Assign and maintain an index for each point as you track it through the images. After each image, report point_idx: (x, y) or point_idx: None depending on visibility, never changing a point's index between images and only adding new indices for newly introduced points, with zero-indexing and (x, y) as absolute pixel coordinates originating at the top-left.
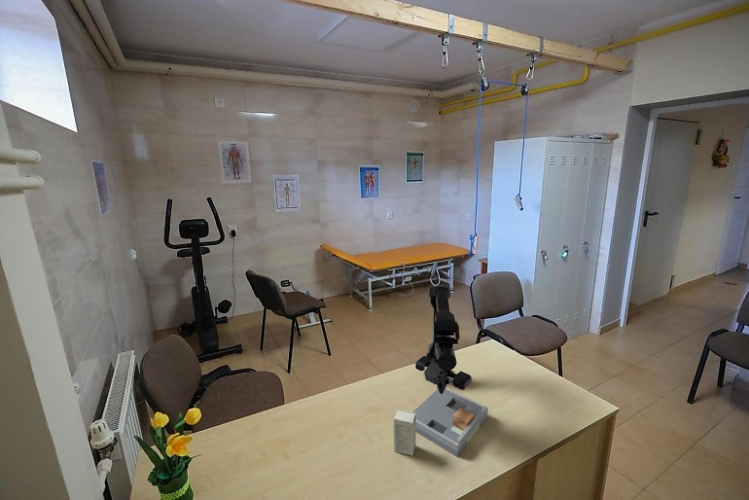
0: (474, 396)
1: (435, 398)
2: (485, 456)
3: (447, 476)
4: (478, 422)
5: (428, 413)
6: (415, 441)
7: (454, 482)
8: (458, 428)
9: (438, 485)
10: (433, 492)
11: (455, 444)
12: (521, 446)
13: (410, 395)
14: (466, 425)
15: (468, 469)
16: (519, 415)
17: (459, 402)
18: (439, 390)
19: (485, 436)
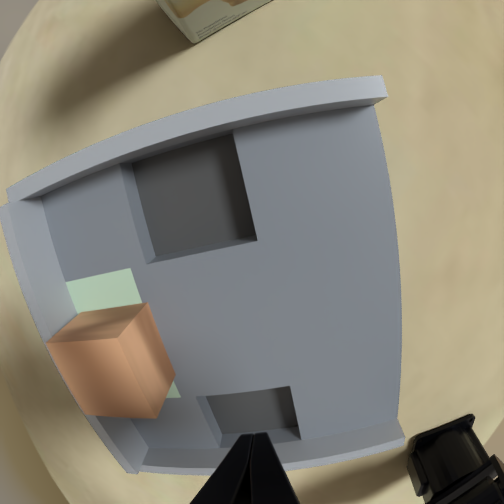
0: None
1: (367, 380)
2: (15, 280)
3: (23, 89)
4: None
5: (312, 260)
6: (177, 22)
7: (3, 99)
8: (115, 307)
9: (26, 42)
10: (27, 19)
11: (13, 186)
12: (25, 390)
13: (478, 295)
14: (58, 332)
15: (3, 180)
16: (119, 479)
17: None
18: (263, 458)
19: None
